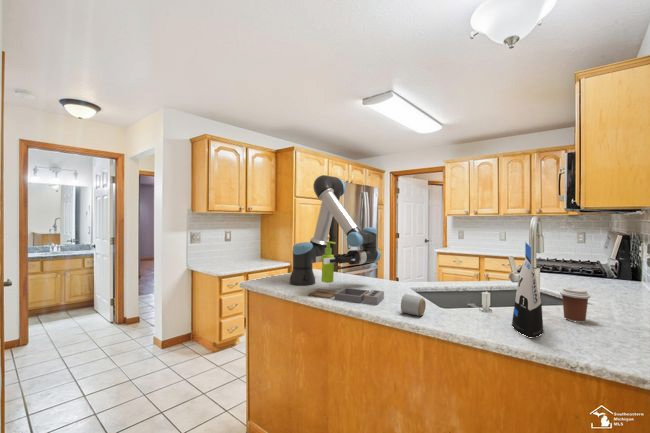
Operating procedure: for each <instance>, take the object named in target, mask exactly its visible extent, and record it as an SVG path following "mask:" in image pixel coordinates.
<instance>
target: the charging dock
mask: <svg viewBox="0 0 650 433" xmlns="http://www.w3.org/2000/svg"><path fill="white" fill-rule="evenodd" d="M337 291H338V292H336V293H335V296H334V300H335V301H339V302H340V301H341V302H348V303H353V304H354V303H355V304H362V303H364V304H365V305H371V306H372V305H373V306H378V305H379V304H380V303H382V301H383V300H384V299H385V290H384V291H383V290H377V289H371V290H367V289H360V288H350V287H343V288H341V289H340V290H337Z"/></svg>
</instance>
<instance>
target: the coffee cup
mask: <svg viewBox="0 0 650 433" xmlns="http://www.w3.org/2000/svg"><path fill="white" fill-rule="evenodd" d="M559 294H560V295H561V296H562V309H563V319H564V318H566V319H568V320H571V321H576V322H575V323H577V322H585V321H586V322H587V320H586V319H587V310H588V303H589V302H588V301H589V299H590V298H591V295H590V294H589V293H588V290H587V289H584V288H579V287H573V286H565V287H563V289H562V290H560V291H559ZM568 320H567V321H568ZM571 321H570V322H571ZM586 322H585V323H586Z"/></svg>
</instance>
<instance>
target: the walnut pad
mask: <svg viewBox="0 0 650 433" xmlns="http://www.w3.org/2000/svg"><path fill="white" fill-rule="evenodd" d="M338 291H339V290H333V289H327V288H317V289H315V290H313V291H311V292H309V293H307V296H308V297H314V298H320V299H321V298H322V299H329V300H331V299H332V298H335V293H336V292H338Z"/></svg>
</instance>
